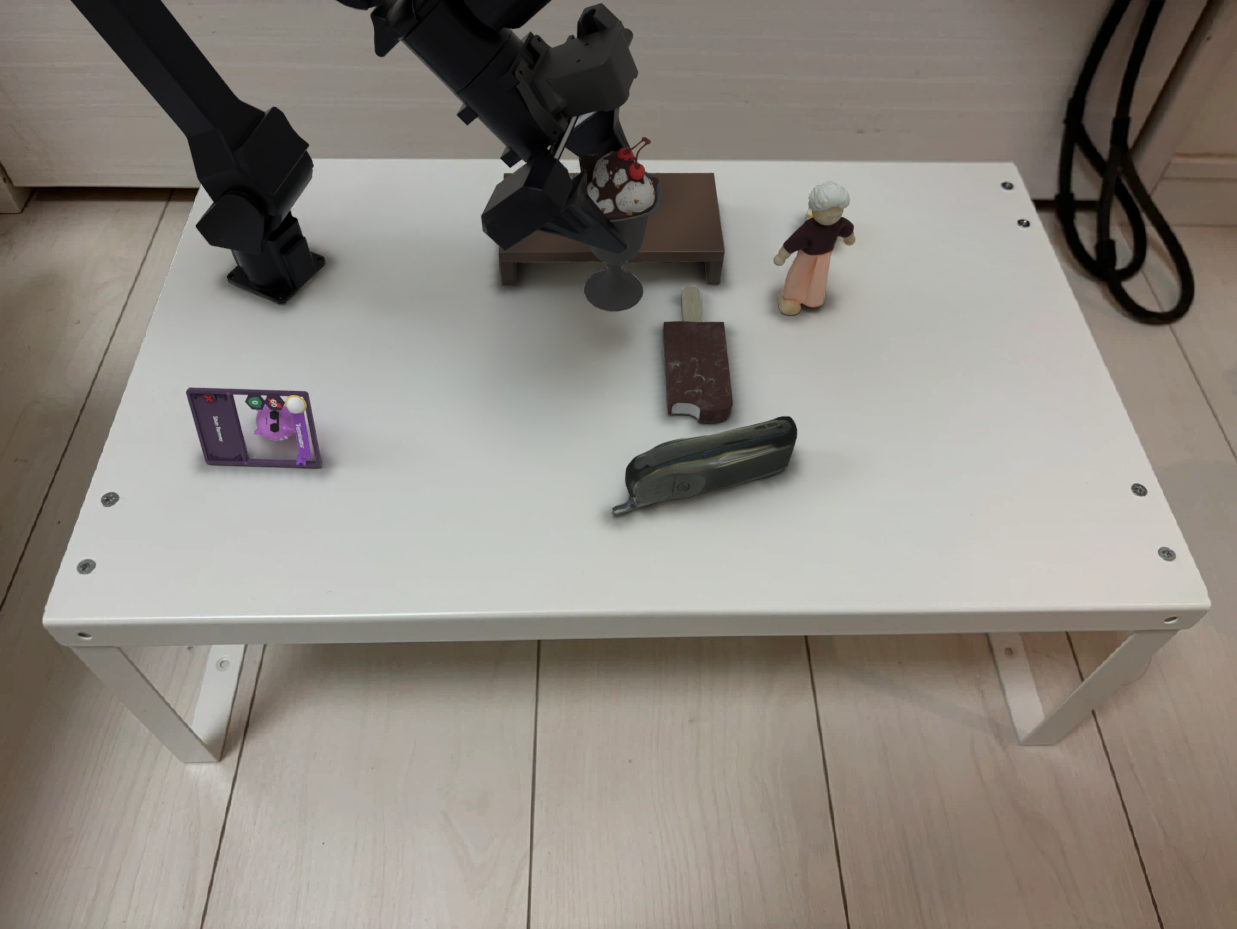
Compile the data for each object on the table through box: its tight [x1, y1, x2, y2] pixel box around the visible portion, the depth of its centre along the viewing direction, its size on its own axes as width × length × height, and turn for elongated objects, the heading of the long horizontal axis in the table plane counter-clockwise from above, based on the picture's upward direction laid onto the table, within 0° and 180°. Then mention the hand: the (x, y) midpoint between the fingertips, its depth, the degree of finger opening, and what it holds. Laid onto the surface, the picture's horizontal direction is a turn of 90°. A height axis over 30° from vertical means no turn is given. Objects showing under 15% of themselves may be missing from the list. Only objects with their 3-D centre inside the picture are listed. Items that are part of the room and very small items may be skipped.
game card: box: [185, 387, 323, 468], centre depth 72 cm, size 7×5×9 cm
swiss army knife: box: [611, 415, 798, 516], centre depth 71 cm, size 5×3×15 cm
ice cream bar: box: [662, 285, 734, 424], centre depth 80 cm, size 5×2×15 cm
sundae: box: [578, 136, 662, 313], centre depth 70 cm, size 7×7×15 cm
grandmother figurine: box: [772, 180, 857, 316], centre depth 79 cm, size 8×4×13 cm, turn 123°
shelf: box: [497, 172, 726, 287], centre depth 87 cm, size 20×11×4 cm, turn 92°
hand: (634, 221), depth 70 cm, fingers closed on sundae, 6 cm apart
